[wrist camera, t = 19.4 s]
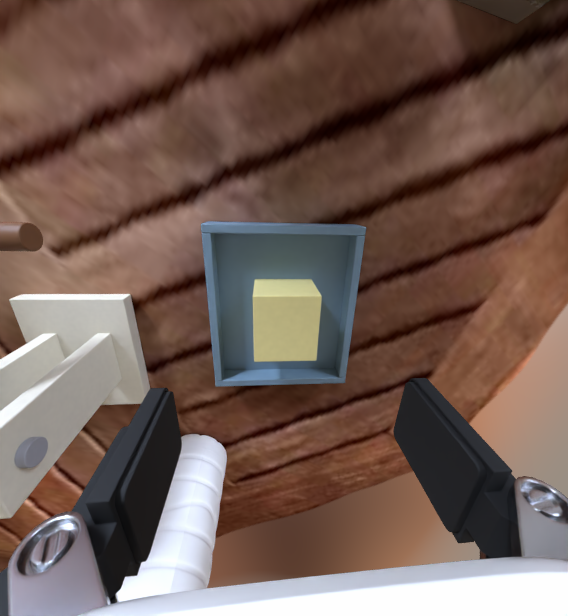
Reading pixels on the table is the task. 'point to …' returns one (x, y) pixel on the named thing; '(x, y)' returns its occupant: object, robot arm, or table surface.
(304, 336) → the butter
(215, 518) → the water bottle
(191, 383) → the table surface
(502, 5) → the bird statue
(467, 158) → the table surface
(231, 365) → the dish
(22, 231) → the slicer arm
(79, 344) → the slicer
